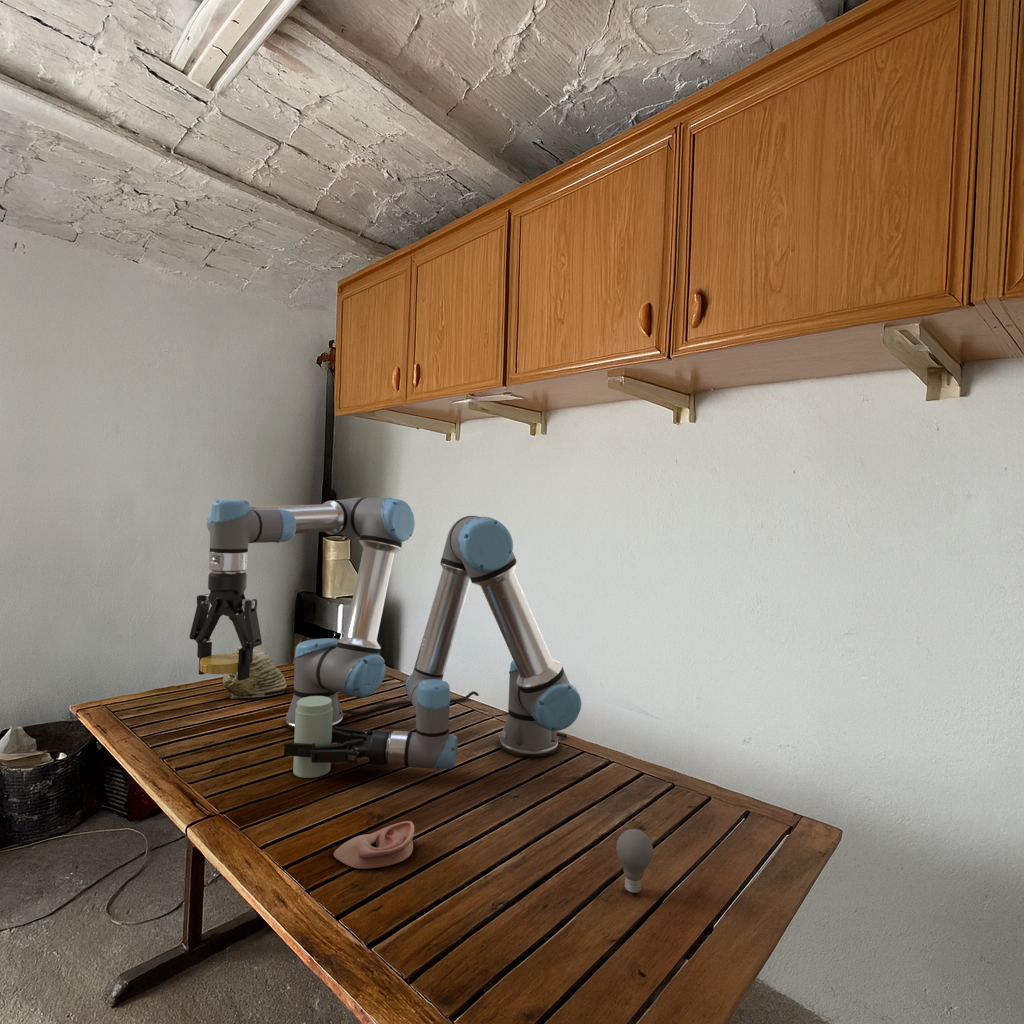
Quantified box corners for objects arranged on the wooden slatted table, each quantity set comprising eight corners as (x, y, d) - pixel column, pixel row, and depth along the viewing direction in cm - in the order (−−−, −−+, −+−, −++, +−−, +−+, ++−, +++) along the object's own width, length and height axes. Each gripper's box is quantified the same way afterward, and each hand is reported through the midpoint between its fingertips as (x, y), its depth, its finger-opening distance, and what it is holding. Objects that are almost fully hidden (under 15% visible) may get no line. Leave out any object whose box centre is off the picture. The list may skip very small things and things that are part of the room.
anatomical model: (325, 840, 109) (355, 809, 121) (324, 863, 109) (354, 830, 121) (398, 852, 107) (421, 819, 118) (397, 876, 107) (420, 840, 118)
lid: (194, 674, 130) (194, 664, 130) (205, 662, 139) (206, 653, 139) (243, 674, 132) (243, 664, 132) (251, 662, 141) (252, 653, 141)
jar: (317, 759, 152) (320, 693, 152) (337, 770, 147) (340, 701, 147) (286, 769, 146) (288, 700, 146) (305, 781, 141) (308, 709, 140)
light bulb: (610, 879, 108) (613, 822, 108) (644, 879, 109) (647, 822, 109) (619, 902, 102) (622, 840, 102) (655, 901, 103) (658, 840, 103)
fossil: (218, 695, 195) (220, 647, 195) (278, 685, 208) (279, 640, 207) (228, 703, 189) (230, 653, 188) (289, 692, 201) (290, 645, 201)
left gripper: (172, 569, 135) (168, 673, 135) (259, 577, 129) (255, 687, 129) (199, 566, 142) (195, 665, 143) (282, 573, 136) (278, 677, 136)
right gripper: (376, 784, 135) (272, 777, 136) (399, 746, 156) (309, 740, 157) (377, 749, 135) (273, 742, 136) (401, 716, 156) (311, 710, 157)
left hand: (223, 675), depth 136 cm, fingers closed on lid, 9 cm apart
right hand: (293, 741), depth 147 cm, fingers closed on jar, 8 cm apart
